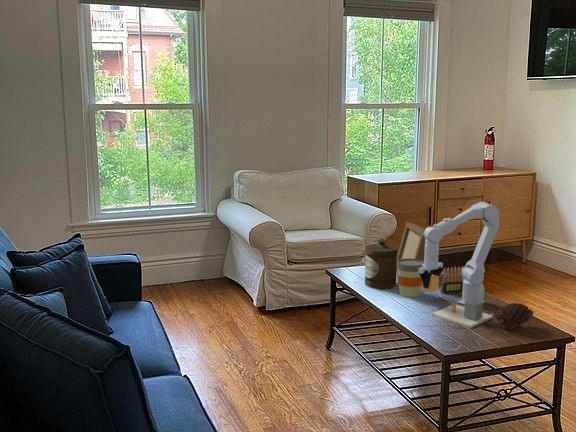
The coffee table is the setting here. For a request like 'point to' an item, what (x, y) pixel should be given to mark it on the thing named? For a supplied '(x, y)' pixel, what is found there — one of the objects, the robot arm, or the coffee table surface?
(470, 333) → the coffee table surface
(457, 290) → the ammunition clip
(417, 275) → the reusable coffee cup
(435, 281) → the amber foam cube
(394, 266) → the wooden container
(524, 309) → the pine cone
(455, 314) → the board
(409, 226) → the photo frame
